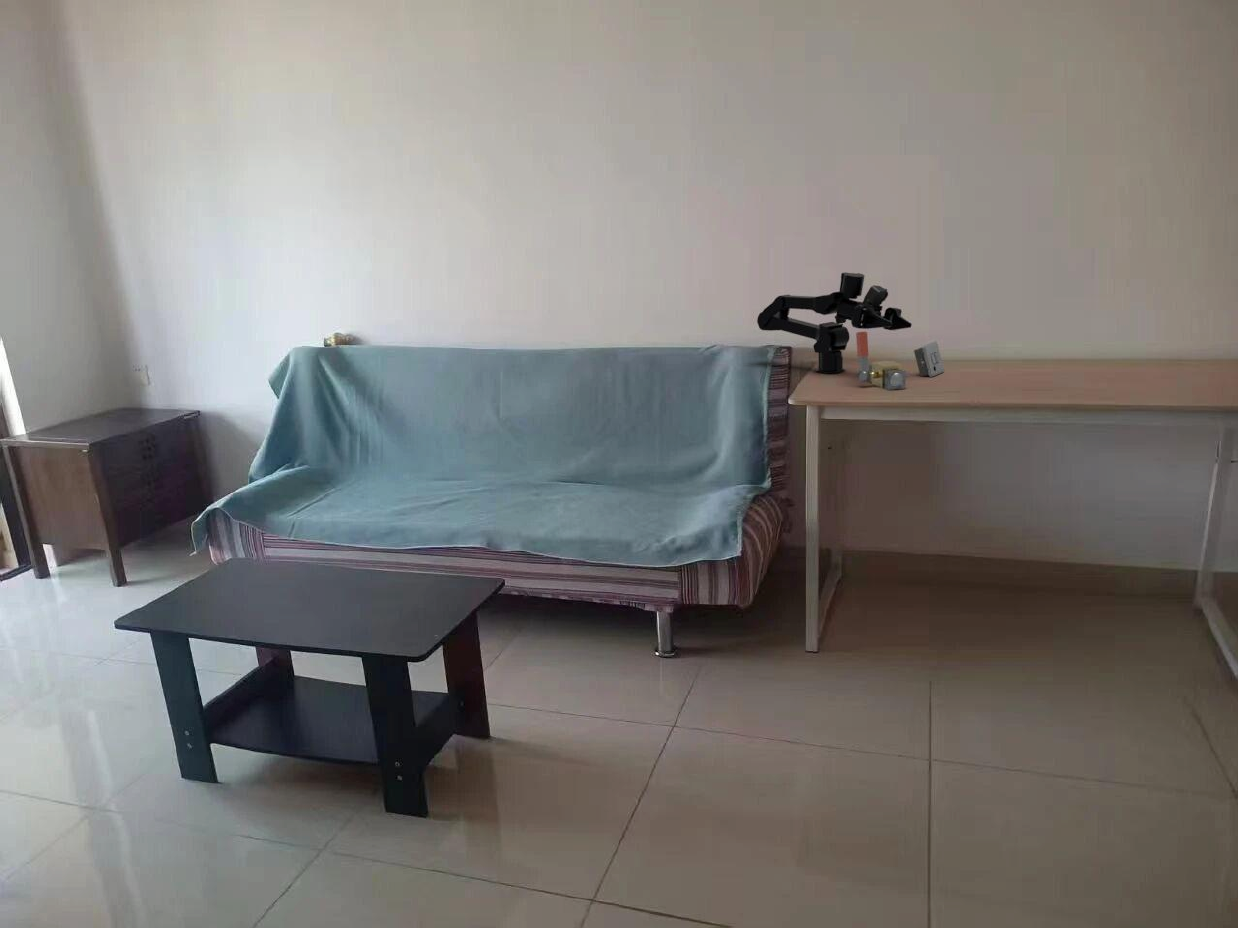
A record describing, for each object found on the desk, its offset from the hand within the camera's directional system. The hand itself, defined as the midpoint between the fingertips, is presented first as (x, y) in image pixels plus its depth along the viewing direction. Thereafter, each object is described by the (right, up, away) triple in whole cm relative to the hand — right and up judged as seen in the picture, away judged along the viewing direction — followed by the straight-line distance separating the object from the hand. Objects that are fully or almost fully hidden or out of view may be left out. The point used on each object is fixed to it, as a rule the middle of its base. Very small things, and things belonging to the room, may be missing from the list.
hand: (901, 325), depth 264 cm
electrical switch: (+11, -13, +11) cm, 20 cm away
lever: (-11, -16, -2) cm, 19 cm away
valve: (-5, -17, -1) cm, 18 cm away
